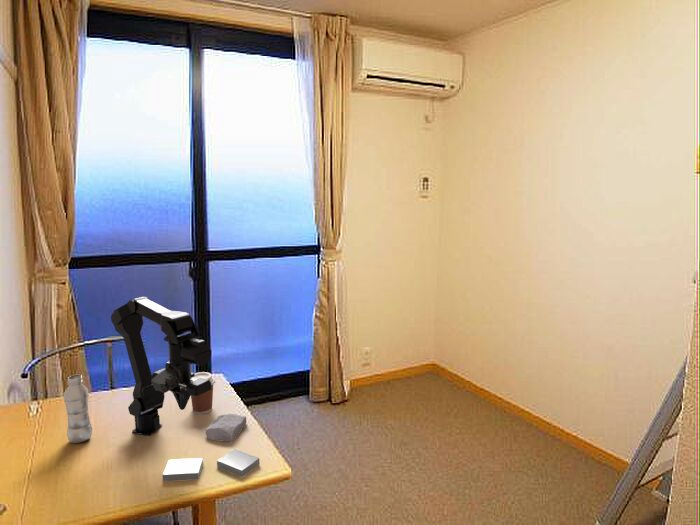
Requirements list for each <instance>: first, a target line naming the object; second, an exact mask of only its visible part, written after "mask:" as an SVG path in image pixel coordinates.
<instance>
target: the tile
mask: <svg viewBox="0 0 700 525" xmlns="http://www.w3.org/2000/svg"><path fill="white" fill-rule="evenodd" d="M259 464H260V457H258V456H255V455H252V454H250V453H247V452H244V451H242V450H239V449H237V448H234V449H233V450H231V451H229V452H227V453H226V454H225V455H223V456H222V457H220V458H219V459H217V460H216V468H218V469H221V470H223V471H225V472H228V473H231V474H233V475H235V476H237V477H239V478H244V477H245V476H246V475H247V474H249V473H250V472H252V471H253V470H254V469H256V468H257V467H258V466H260V465H259ZM255 467H256V468H255Z"/></svg>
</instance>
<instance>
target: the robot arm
mask: <svg viewBox="0 0 700 525" xmlns="http://www.w3.org/2000/svg"><path fill="white" fill-rule="evenodd" d="M143 317H144V318H146V319H147V320H150V321H152V322H154V323H155V324H157V325H159V327H160V331H161V332H162V333H164V334H165V335H166V336H165V337H164V338H163V341H164V342H167V343H168V361H167V362H165V367H164V368H162V369H159V370H157V371H154V372H153V373H152V372H151V371H152V370H151V367H150V364H149V360H148V356H147V352H146V349H145V345H144V341H143V337H142V333H141V332H142V329H143V326H144V318H143ZM110 321H111V323H112V325H113V326H114V329H115V331H116V332H117V333H118V334H119V336H121V337H122V338H123V340H124V344H125V347H126V348H125V349H126V351H127V355H128V359H129V363H130V367H131V370H132V374H133V378H134V381H135V384H134V386H133V392H132V399H133V401H132V402H130V404H129V406H128V408H127V409H128V413H129V415H130V416H133V417H134V426H135V428H134V429H132V431H131V433H133V434H138V435H139V434H140V435H144V436H151V435H152V434H154V433H155V432H156V431H157V430H159V429H160V428H162V427H163V424H162V423H160V422H161V421H160V415H159V410H160V409H163V406H164V402H165V396H166V394H165V393H168V392H171V393H172V394H173V396H174V398H175V401H176V403H177V405H178V407H179V410H182V411H183V410H185V409H186V406H187V404H188V402H189V400H190V399H191V395H193V396H199V395H201V394H203V393H205V392H207V391H209V390H211V389H212V385H211V381H209V380H207V379H204V378H198V379H196V380H194V379H191V378H192V377H194V376H195V375H194V374H195V372H192V365H196V366H200V367H203V366H205V365H207V364H208V363H209V361H210V360H211V357H212V350H211V348H210V346H209V345H207V344H206V341H205V340H204V339H198V338H201V337H202V336H201V334H200V330H199V328H198V327H197V325H196V323H195V321H194V319H193V318H192V316H191V314H189V313H188V312H185V311H181V310H179V311H178V310H170V309H167V308H166V307H164V306H162V305H160V304H158V303H156V302H154V301H152V300H150V299H149V298H148V297H147V296H140V297H136V298H135V297H134V298H132V299H130V300H129V301H128V302H126V303H125V304H123V305H121V306H120V307H118V308H116V309H114V310H113V312H112V314H111V315H110Z"/></svg>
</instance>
